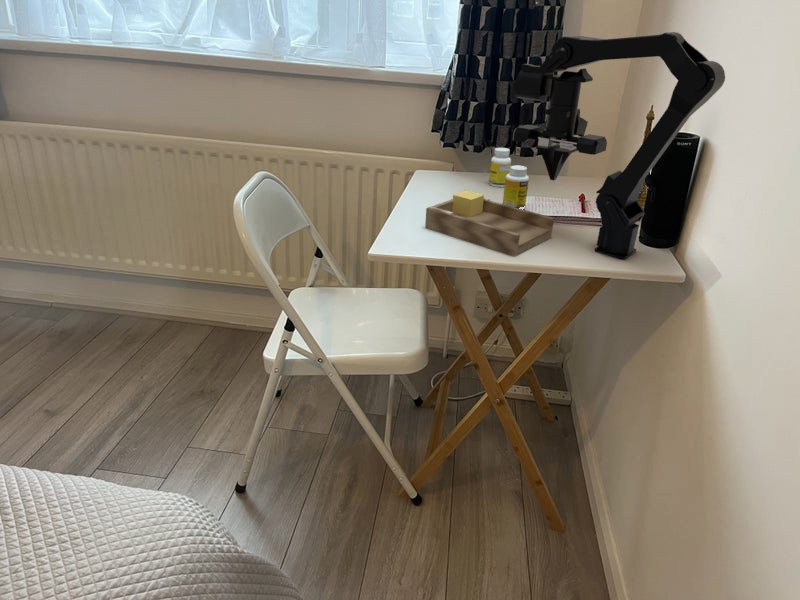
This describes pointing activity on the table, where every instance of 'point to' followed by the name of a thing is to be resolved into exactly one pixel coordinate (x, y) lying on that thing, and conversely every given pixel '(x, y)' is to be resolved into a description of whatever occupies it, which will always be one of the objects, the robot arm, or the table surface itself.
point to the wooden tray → (492, 226)
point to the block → (467, 203)
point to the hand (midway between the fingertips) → (553, 179)
